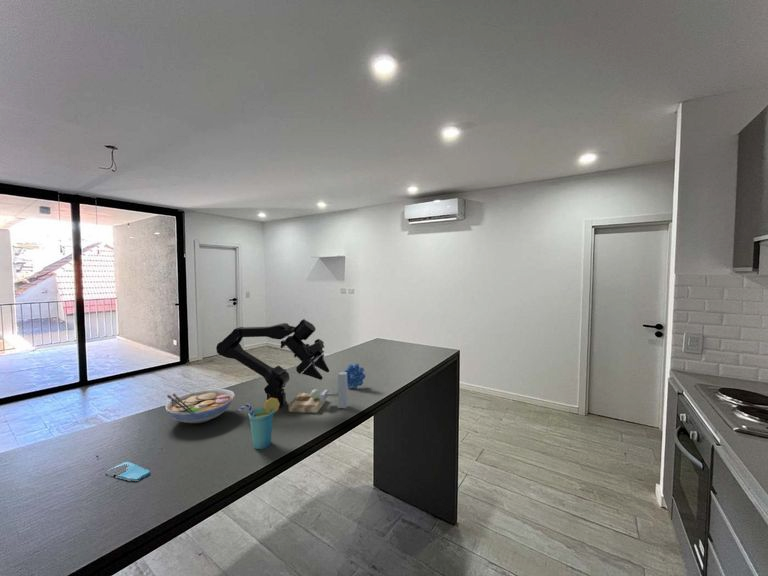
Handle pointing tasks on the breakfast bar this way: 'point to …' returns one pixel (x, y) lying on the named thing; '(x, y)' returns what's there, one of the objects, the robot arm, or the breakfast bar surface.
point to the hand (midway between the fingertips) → (325, 375)
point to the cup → (262, 422)
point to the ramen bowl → (199, 405)
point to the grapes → (355, 376)
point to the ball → (315, 394)
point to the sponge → (133, 471)
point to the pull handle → (339, 391)
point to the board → (305, 403)
